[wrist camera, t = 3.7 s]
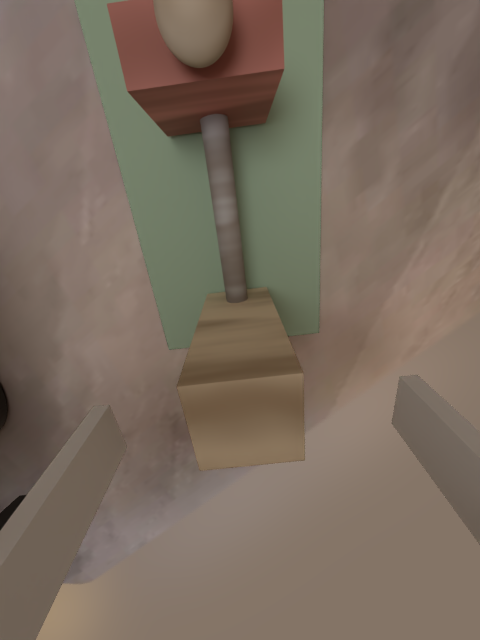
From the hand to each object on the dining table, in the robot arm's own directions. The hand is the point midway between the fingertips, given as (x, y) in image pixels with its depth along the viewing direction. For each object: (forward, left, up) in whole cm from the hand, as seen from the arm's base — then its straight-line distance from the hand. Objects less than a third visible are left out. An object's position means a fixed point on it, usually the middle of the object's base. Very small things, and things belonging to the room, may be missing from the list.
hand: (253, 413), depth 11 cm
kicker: (+7, 0, -11) cm, 13 cm away
